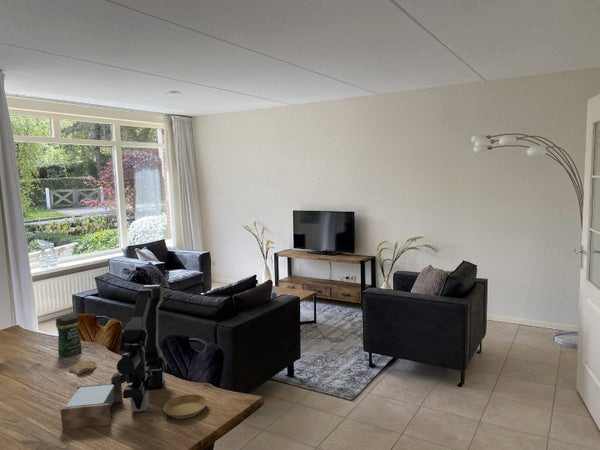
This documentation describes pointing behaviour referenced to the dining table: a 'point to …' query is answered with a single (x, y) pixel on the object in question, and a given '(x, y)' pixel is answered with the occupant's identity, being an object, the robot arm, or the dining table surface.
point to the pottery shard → (83, 367)
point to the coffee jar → (68, 335)
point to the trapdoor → (93, 396)
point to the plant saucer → (185, 406)
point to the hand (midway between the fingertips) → (140, 404)
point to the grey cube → (143, 405)
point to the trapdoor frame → (89, 412)
